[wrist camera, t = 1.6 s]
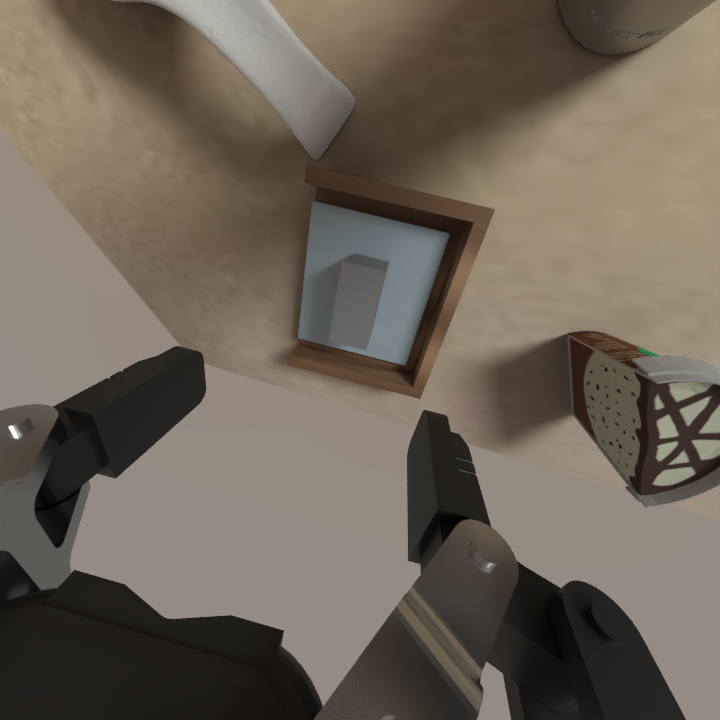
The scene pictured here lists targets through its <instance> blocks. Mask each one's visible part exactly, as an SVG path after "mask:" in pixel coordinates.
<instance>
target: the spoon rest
mask: <svg viewBox="0 0 720 720" xmlns="http://www.w3.org/2000/svg"><path fill="white" fill-rule="evenodd" d="M111 1H119V2H145V3H150V4H153V5H157V6H159V7H161V8H164V9H166V10H168V11H170V12H172V13H174V14H175V15H177V16H178V17H180V18H181V19H183V20H184V21H185V22H187V23H188V24H189V25H191V26H192V27H193V28H194V29H195V30H196V31H198V32H199V33H200V34H201V35H202V36H203V37H204V38H205V39H206V40H207V41H208V42H209V43H210V44H211V45H212V46H214V47H215V48H216V49H217V50H218V51H219V52H220V53H221V54H222V55H223V56H224V57H225V58H226V59H227V60H228V61H229V62H230V63H231V64H232V65H233V66H234V67H235V68H236V69H237V70H238V71H239V72H240V73H241V74H242V75H243V76H244V77H245V78H246V79H247V80H248V81H249V82H250V83H251V84H252V85H253V86H254V87H255V89H256V90H257V91H258V92H259V93H260V94H261V95H262V96H263V97H264V98H265V99H266V100H267V101H268V103H269V104H270V105H271V106H272V107H273V109H274V110H275V111H276V112H277V113H278V115H279V116H280V117H281V118H282V119H283V121H284V122H285V123H286V124H287V125H288V127H289V128H290V129H291V130H292V132H293V133H294V135H295V136H296V138H297V139H298V140H299V141H300V143H301V144H302V146H303V147H304V148H305V149H306V151H307V152H308V153H309V155H310V156H311V157H312V158H313V159H315V160H318V159H319V158H320V157H321V156H322V155H323V154H324V152H325V151H326V149H327V148H328V146H329V145H330V143H331V142H332V140H333V139H334V137H335V136H336V135H337V133H338V132H339V130H340V129H341V127H342V126H343V124H344V123H345V121H346V120H347V118H348V117H349V115H350V113H351V112H352V110H353V108H354V106H355V98H354V96H353V95H352V94H351V92H350V91H349V90H348V89H347V88H346V87H345V86H344V85H343V84H342V83H341V82H340V81H339V80H338V79H337V78H336V77H335V76H334V75H333V74H332V73H330V72H329V71H328V70H327V69H326V68H325V67H324V66H323V65H322V63H321V62H320V61H319V60H318V59H317V58H316V57H315V56H314V55H313V54H312V53H311V52H310V51H309V50H308V48H307V47H306V46H305V45H304V44H303V43H302V42H301V40H300V39H299V38H298V37H297V36H296V34H295V33H294V32H293V31H292V30H291V28H290V27H289V26H288V25H287V23H286V22H285V21H284V20H283V18H282V17H281V16H280V14H279V13H278V12H277V10H276V9H275V8H274V6H273V5H272V4H271V2H270V1H269V0H111Z"/></svg>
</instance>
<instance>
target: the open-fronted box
mask: <svg viewBox="0 0 720 720" xmlns="http://www.w3.org/2000/svg"><path fill="white" fill-rule="evenodd" d="M305 183H308V184H310V185H313V186H315V187H317V195H316V202H320V203H324V204H328V205H332V206H337V207H341V208H345V209H349V210H353V211H358V212H362V213H366V214H370V215H374V216H379V217H383V218H387V219H391V220H395V221H400V222H404V223H408V224H412V225H416V226H421V227H425V228H429V229H433V230H437V231H442V232H446V233H450V235H449V238H448V241H447V244H446V247H445V250H444V253H443V256H442V259H441V262H440V265H439V268H438V271H437V274H436V277H435V280H434V283H433V286H432V289H431V292H430V295H429V298H428V301H427V304H426V307H425V310H424V312H423V315H422V318H421V321H420V324H419V327H418V330H417V333H416V336H415V339H414V342H413V345H412V348H411V351H410V354H409V357H408V360H407V363H406V366H405V365H401V364H397V363H393V362H389V361H385V360H381V359H377V358H373V357H369V356H366V355H362V354H358V353H354V352H350V351H346V350H342V349H338V348H334V347H330V346H326V345H323V344H319V343H315V342H311V341H307V340H303V339H301V341H300V344H299V345H298V346H297V347H296V349H295V350H294V351H293V352H292V353H291V354H290V356H289V365H292V366H296V367H299V368H303V369H307V370H311V371H315V372H319V373H323V374H326V375H330V376H334V377H338V378H342V379H346V380H350V381H353V382H357V383H361V384H365V385H369V386H373V387H377V388H380V389H384V390H388V391H392V392H396V393H400V394H404V395H407V396H411V397H415V398H419V399H420V398H421V395H422V393H423V390H424V388H425V385H426V383H427V380H428V378H429V375H430V373H431V370H432V368H433V365H434V363H435V360H436V357H437V355H438V352H439V350H440V347H441V345H442V342H443V340H444V337H445V335H446V332H447V330H448V327H449V325H450V322H451V319H452V317H453V314H454V312H455V309H456V307H457V304H458V302H459V299H460V297H461V294H462V292H463V289H464V287H465V284H466V281H467V279H468V276H469V274H470V271H471V269H472V266H473V264H474V261H475V259H476V256H477V254H478V251H479V249H480V246H481V244H482V241H483V238H484V236H485V233H486V231H487V228H488V226H489V223H490V221H491V218H492V216H493V213H494V211H495V209H491V208H487V207H483V206H478V205H474V204H470V203H466V202H461V201H457V200H453V199H449V198H444V197H440V196H436V195H431V194H427V193H423V192H419V191H414V190H410V189H406V188H402V187H397V186H393V185H389V184H384V183H380V182H376V181H372V180H367V179H363V178H359V177H355V176H350V175H346V174H342V173H337V172H333V171H329V170H325V169H320V168H316V167H312V166H308V165H307V167H306V178H305Z"/></svg>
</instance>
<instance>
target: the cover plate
mask: <svg viewBox="0 0 720 720" xmlns="http://www.w3.org/2000/svg"><path fill="white" fill-rule="evenodd" d="M449 235H450V233H446V232H442V231H437V230H433V229H429V228H425V227H421V226H416V225H412V224H408V223H404V222H400V221H395V220H391V219H387V218H383V217H379V216H374V215H370V214H366V213H362V212H358V211H353V210H349V209H345V208H341V207H337V206H332V205H328V204H324V203H320V202H316V201H312V206H311V216H310V225H309V235H308V245H307V254H306V264H305V273H304V283H303V293H302V302H301V312H300V322H299V331H298V338H299V339H303V340H307V341H311V342H315V343H319V344H323V345H326V346H330V347H334V348H338V349H342V350H346V351H350V352H354V353H358V354H362V355H366V356H369V357H373V358H377V359H381V360H385V361H389V362H393V363H397V364H401V365H405V366H406V363H407V360H408V357H409V354H410V351H411V348H412V345H413V342H414V339H415V336H416V333H417V330H418V327H419V324H420V321H421V318H422V315H423V312H424V310H425V307H426V304H427V301H428V298H429V295H430V292H431V289H432V286H433V283H434V280H435V277H436V274H437V271H438V268H439V265H440V262H441V259H442V256H443V253H444V250H445V247H446V244H447V241H448V238H449Z"/></svg>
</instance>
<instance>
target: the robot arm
mask: <svg viewBox="0 0 720 720" xmlns="http://www.w3.org/2000/svg"><path fill="white" fill-rule="evenodd" d="M715 1H716V0H558V2H559V7H560V10H561V14H562V17H563V20H564V23H565V25H566V27H567V28H568V30H569V31H570V33H571V35H572V36H573V38H574V39H575V40H577V41H578V42H579V43H580V44H581V45H583V46H584V47H585V48H587V49H589V50H592V51H594V52H597V53H600V54H614V55H618V54H623V53H628V52H633V51H636V50H639V49H641V48H643V47H646V46H648V45H650V44H653V43H655V42H656V41H658V40H660V39H661V38H663V37H664V36H666V35H667V34H669V33H670V32H672V31H673V30H675V29H676V28H678V27H679V26H681V25H682V24H683V23H685V22H686V21H688V20H689V19H690V18H692V17H693V16H695V15H696V14H698V13H699V12H700V11H702V10H703V9H705V8H706V7H707V6H709V5H710V4H712V3H713V2H715ZM205 392H206V381H205V371H204V360H203V355H202V354H201V352H199V351H195V350H191V349H187V348H183V347H179V346H176V347H173V348H171V349H169V350H167V351H165V352H164V353H162V354H160V355H158V356H156V357H152V358H148V359H145V360H142V361H139V362H137V363H135V364H133V365H131V366H129V367H127V368H125V369H124V370H123V372H122V371H120V372H118V373H116V374H114V375H112V376H111V377H110V379H108V378H106V379H105V380H103V381H101V382H99V383H97V384H95V385H93V386H92V387H89V388H88V389H86V390H84V391H82V392H80V393H78V394H76V395H74V396H73V397H71V398H69V399H67V400H65V401H63V402H61V403H59V404H57V405H56V406H53V407H51V406H48V405H41V404H33V405H23V406H17V407H13V408H8V409H5V410H2V411H0V720H477V717H478V715H479V711H480V708H481V704H482V699H483V687H482V686H481V684H480V679H481V674H482V671H483V668H484V666H485V663H486V661H487V662H488V663H490V664H491V665H492V666H494V667H495V668H496V669H498V670H499V671H500V672H502V673H503V676H504V682H505V687H506V693H507V698H508V704H509V710H510V715H511V720H686V719H685V717H684V715H683V713H682V711H681V710H680V708H679V706H678V704H677V702H676V700H675V698H674V696H673V694H672V693H671V691H670V689H669V687H668V685H667V683H666V681H665V679H664V678H663V676H662V674H661V672H660V670H659V668H658V666H657V664H656V662H655V661H654V659H653V657H652V655H651V653H650V651H649V649H648V647H647V646H646V644H645V642H644V640H643V638H642V637H641V635H640V633H639V631H638V630H637V628H636V627H635V626H634V624H633V622H632V621H631V620H630V618H629V617H628V616H627V615H626V614H625V613H624V611H623V610H622V609H621V608H620V607H619V606H618V605H617V604H616V603H615V602H614V601H613V600H612V599H611V598H609V597H608V596H607V595H606V594H604V593H603V592H602V591H600V590H599V589H597V588H596V587H594V586H592V585H590V584H588V583H585V582H582V581H570V582H569V583H567V584H566V585H564V586H563V587H562V588H560V587H558V586H556V585H555V584H553V583H551V582H549V581H548V580H546V579H545V578H543V577H541V576H539V575H538V574H536V573H535V572H533V571H531V570H530V569H528V568H526V567H525V566H523V565H522V564H520V563H519V562H517V560H516V558H515V556H514V553H513V551H512V550H511V548H510V546H509V545H508V544H507V542H506V541H505V540H504V539H503V538H502V536H501V535H500V534H498V532H497V531H495V530H494V529H493V528H492V527H491V525H490V521H489V518H488V514H487V510H486V507H485V503H484V500H483V496H482V493H481V490H480V486H479V483H478V479H477V476H476V472H475V468H474V464H472V457H471V454H470V450H469V447H468V446H467V444H466V443H465V442H464V440H463V439H462V437H461V436H460V435H459V434H457V433H453V432H451V431H450V426H449V422H448V418H447V416H446V415H443V414H439V413H435V412H431V411H427V410H424V411H423V412H422V414H421V417H420V419H419V422H418V424H417V426H416V429H415V431H414V434H413V436H412V439H411V441H410V445H409V449H408V455H407V492H408V493H407V495H408V561H411V562H415V563H418V564H421V575H420V576H419V578H418V579H417V580H416V582H415V583H414V585H413V586H412V587H411V589H410V590H409V591H408V593H407V594H405V596H404V597H403V598H402V600H401V601H400V602H399V603H398V605H397V606H396V607H395V609H394V610H393V611H392V613H391V614H390V616H389V617H388V618H387V620H386V621H385V622H384V624H383V625H382V627H381V628H380V629H379V631H378V632H377V633H376V635H375V636H374V638H373V639H372V640H371V642H370V643H369V645H368V646H367V647H366V648H365V650H364V651H363V653H362V654H361V655H360V657H359V658H358V659H357V661H356V662H355V664H354V665H353V667H352V668H351V669H350V670H349V672H348V673H347V675H346V676H345V677H344V679H343V680H342V681H341V683H340V684H339V685H338V687H337V688H336V690H335V691H334V692H333V694H332V695H331V697H330V698H329V699H328V701H327V702H326V703H325V705H324V706H322V703H321V700H320V697H319V695H318V693H317V691H316V689H315V687H314V685H313V683H312V681H311V679H310V678H309V676H308V675H307V673H306V671H305V670H304V668H303V667H302V666H301V664H300V663H299V662H298V661H297V660H296V659H295V658H294V657H293V655H291V654H290V653H289V652H288V651H287V650H285V649H284V648H283V647H282V646H281V645H282V638H283V632H284V631H283V630H280V629H276V628H273V627H269V626H266V625H262V624H259V623H256V622H252V621H249V620H245V619H242V618H238V617H235V616H231V615H230V616H215V617H198V618H183V619H167V618H164V617H163V616H161V615H160V614H159V613H158V612H156V611H155V610H154V609H153V608H152V607H151V606H149V605H148V604H147V603H146V602H145V601H143V600H142V599H141V598H140V597H139V596H138V595H136V594H135V593H134V592H133V591H132V590H131V589H129V588H128V587H127V586H126V585H125V584H121V583H117V582H114V581H111V580H107V579H103V578H100V577H97V576H94V575H90V574H87V573H83V572H80V571H76V570H74V571H73V572H72V573H71V569H70V556H71V551H72V548H73V544H74V541H75V538H76V534H77V531H78V527H79V524H80V521H81V517H82V514H83V511H84V507H85V504H86V501H87V497H88V494H89V490H90V483H89V481H88V480H89V479H91V478H92V477H93V476H94V475H96V474H97V473H98V474H101V475H105V476H108V477H112V478H117V477H118V476H119V475H120V474H121V473H122V472H123V471H125V470H126V469H127V468H128V467H129V466H130V465H131V464H132V463H134V462H135V461H136V460H137V459H138V458H139V457H140V456H141V455H143V454H144V453H145V452H146V451H147V450H148V449H149V448H150V447H152V446H153V445H154V444H155V443H156V442H157V441H158V440H159V439H161V438H162V437H163V436H164V435H165V434H166V433H167V432H168V431H169V430H170V429H172V428H173V427H174V426H175V425H176V424H177V423H178V422H180V420H182V419H183V418H184V417H185V416H186V415H187V414H188V413H190V412H191V411H192V410H193V409H194V408H195V407H196V406H197V405H198V404H200V402H201V401H202V399H203V398H204V395H205Z"/></svg>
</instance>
